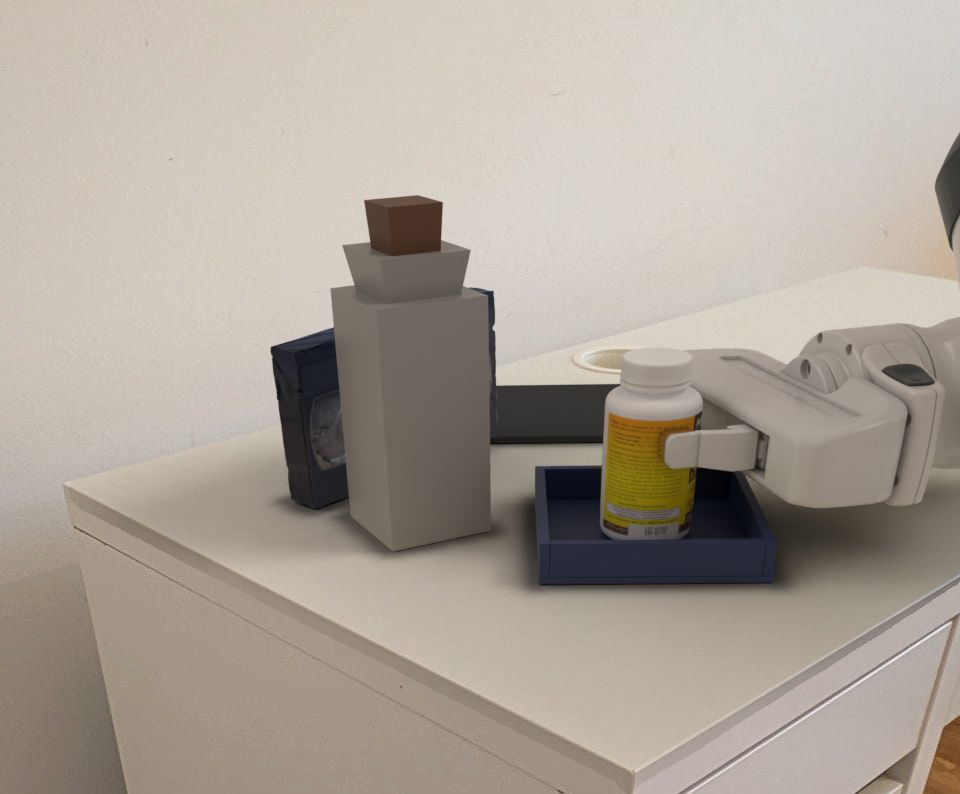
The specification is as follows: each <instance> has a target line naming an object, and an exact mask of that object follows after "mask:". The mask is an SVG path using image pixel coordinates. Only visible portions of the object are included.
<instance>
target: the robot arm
mask: <svg viewBox="0 0 960 794" xmlns="http://www.w3.org/2000/svg"><path fill="white" fill-rule="evenodd" d="M934 193H935V195H936V199H937V203H938V208H939V212H940V214H941V219H942V223H943V227H944V230H945V234H946V238H947V241H948V246H949V248H950V250H951V251H952V253H953V258H954V265H955V271H956V278H957V285H958V290H959V292H960V132H959V133H958V134H957V136H956V137H955V139H954V140H953V142H952V145H951V146H950V148H949V150H948V152H947V154H946V156H945V158H944V160H943V163H942V165H941V167H940V169H939V171H938V174H937V176H936V179H935V182H934ZM682 350H683V351H685V352H688V353H690V354H691V355H692V357H693V363H692V379H691V385H690V386H689V387H691V388H693V389H695V390H696V391H697V392H698V393H699V394H700V395H701V397H702V400H703V409H702V418H701V429H700V430H695V431H694V430H692V429H691V428H689V427H682V428H676V429H666V430H664V431H662V432H661V434H660V435H659V439H658V445H659V448H658V450H657V456H658V459H659V460H661V461H662V462H663V463H665V464H666V465H667V466H668V467H669V468H671V469H681V468H689V467H700V468H708V469H716V470H724V471H732V472H734V471H740V472H741V473H743V474H744V475H745V477H746V478H749V479H750V480H752V481H753V482H755V483H757V484H758V485H759V486H761V487H763V489H766V490H767V491H769V492H770V493H772V494H773V495H775V496H776V497H777V498H780V499H781V500H782V501H784V502H786V503H787V504H790V505H793V506H798V507H804V508H811V509H812V508H813V509H832V508H846V507H847V508H848V507H857V506H865V505H874V504H878V503H879V504H880V503H885V504H887V505H888V506H891V507H906V506H912V505H917V504H919V503H921V502H922V501H923V499H924V495H925V492H926V489H927V486H928V482H929V479H930V477H931V476H930V475H931V472H932V468H935V469H939V470H957V469H960V316H957V317H952V318H948V319H945V320H943V321H940V322H938V323H936V324H934V325H932V326H927V327H924V326H918V325H915V324H911V323H906V322H905V323H903V322H897V323H886V324H875V325H866V326H865V325H864V326H856V327H845V328H836V329H828V330H823V331H819V332H818V333H816V334H815V335H814V336H812V337H811V338H810V339H809V340H808V341H807V342H806V343H805V344H804V345H803V347H802V349H801V350H800V352H799V353H798V355H797V356H796V357H794V358H792V359H791V360H789V362H788V363H785V362H783V361H781V360H780V359H779V360H778V359H777V358H775V357H772V356H770V355H768V354H765V353H763V352H762V351H758V350H756V349H752V348H751V349H750V348H743V347H742V348H741V347H740V348H739V347H717V348H714V347H713V348H695V349H693V348H692V349H682Z"/></svg>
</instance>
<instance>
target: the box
mask: <svg viewBox="0 0 960 794" xmlns="http://www.w3.org/2000/svg"><path fill="white" fill-rule="evenodd" d="M601 477H602V464H601V465H600V464H599V465H598V464H597V465H535V466H534V516H535V517H534V518H535V533H536V535H535V536H536V537H535V538H536V554H537V555H536V557H537V573H538V585H635V584H636V585H641V584H642V585H643V584H644V585H645V584H646V585H647V584H651V585H652V584H656V585H657V584H753V583H755V584H757V583H759V584H760V583H762V584H763V583H766V584H767V583H773V576H774V572H775V564H776V559H777V558H776V557H777V551H778V550H777V549H778V544H779V542H778V540H777V538H776V536H775V534H774V531H773V529H772V527H771V525H770V523H769V522H768V520H767V518H766V515H765V513H764V511H763V509H762V507H761V505H760V503H759V500H758V499H757V497H756V495H755V493H754V491H753V489H752V487H751V485H750V483H749V481H748V479H747V476H746V475H744V474H743V473H741V472H740V471H734V472H732V471H724V470H716V469H708V468H700V467H697V470H696V481H695V491H694V502H693V512H692V520H691V527H690V530H689V532H688V533H687V535H686V536H685V537H683V538H682V539H657V540H612V539H610V538H609V537H608V536H606V535H605V534H604V532H603V531H602V529H601V527H600V501H601Z"/></svg>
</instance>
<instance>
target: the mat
mask: <svg viewBox="0 0 960 794" xmlns="http://www.w3.org/2000/svg"><path fill="white" fill-rule="evenodd" d="M618 386H621V385H620V383H590V384H589V383H585V384H584V383H581V384H519V385H518V384H515V385H514V384H513V385H509V384H508V385H507V384H506V385H505V384H504V385H496V394H497V406H496V408H497V432H496V435H495V437H492V438H490V444H550V443H551V444H555V443H557V444H558V443H559V444H560V443H564V444H565V443H603V433H604V414H605V401H606V397H607V395H608V394H609V393H610V392H611V391H612V390H613V389H615V388H616V387H618Z"/></svg>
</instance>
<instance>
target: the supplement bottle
mask: <svg viewBox="0 0 960 794" xmlns="http://www.w3.org/2000/svg"><path fill="white" fill-rule="evenodd" d="M683 350H684V349H678V348H673V347H672V348H671V347H662V346H661V347H659V346H658V347H642V348H636V349H631V350H629V351H626V352H624V353H623V354H622V356H621V364H620V365H621V367H620V373H619V377H620V379H619V384H620V385H621V386H618V387H616V388H615V389H613V390H612V391H611V392H610V393H609V394H608V395H607V397H606V401H605V414H604V433H603V442H602V456H601V457H602V459H601V465H602V477H601V501H600V527H601V529H602V531H603V532H604V534H605V535H606V536H608V537H609V538H610V539H612V540H657V539H682V538H683V537H685V536H686V535H687V533H688V532H689V530H690V527H691V520H692V512H693V502H694V491H695V481H696V470H697V467H689V468H681V469H671V468H669V467H668V466H667V465H666V464H665V463H663V462H662V461H661V460H659V459H658V456H657V450H658V448H659V445H658V439H659V435H660V434H661V432H662V431H664V430H666V429H676V428H682V427H689V428H691V429H692V430H694V431H695V430H700V429H701V418H702V409H703V400H702V397H701V395H700V394H699V393H698V392H697V391H696V390H695V389H693V388H691V387H689V386H690V385H691V379H692V363H693V357H692V355H691V354H690V353H688V352H685V351H683Z"/></svg>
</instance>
